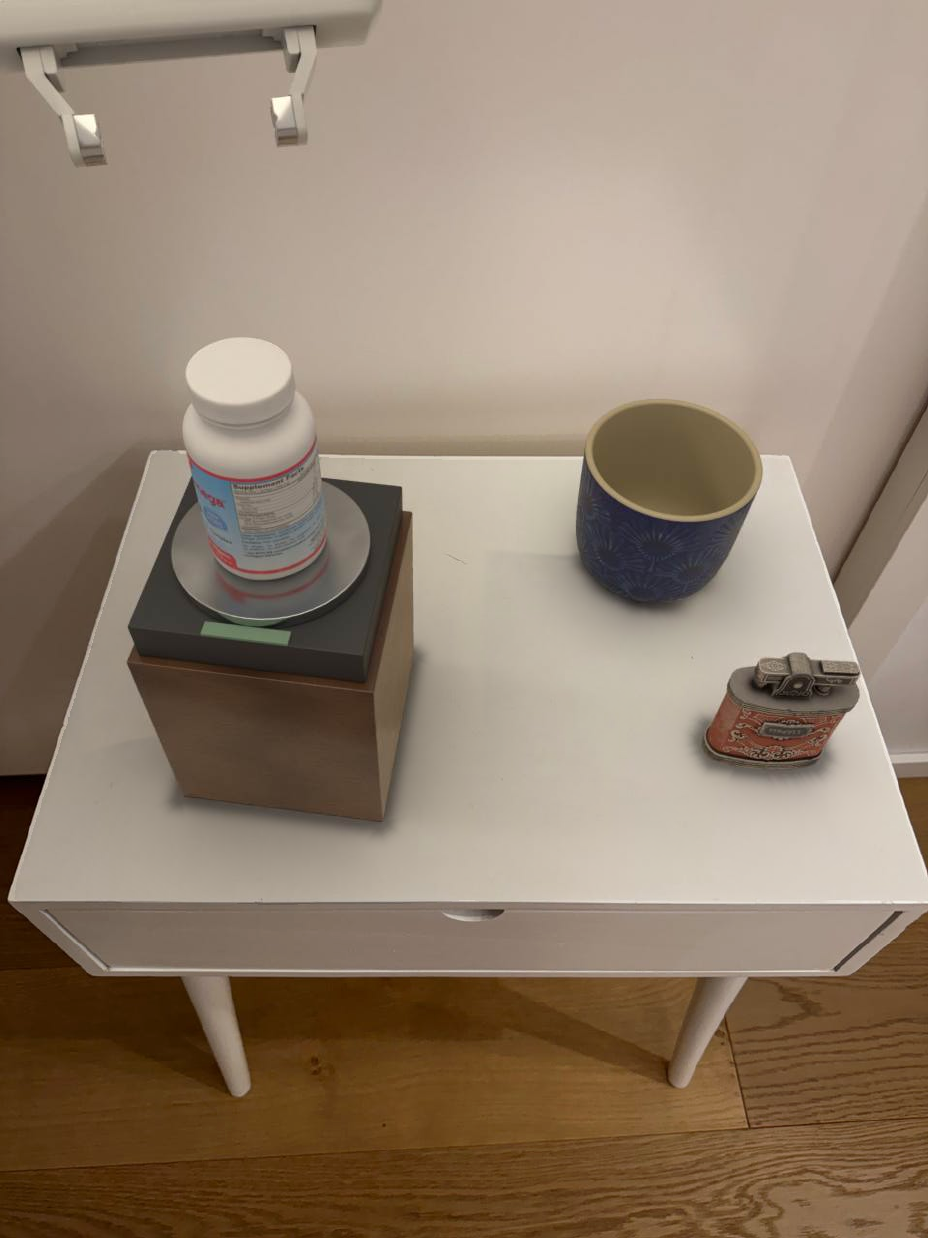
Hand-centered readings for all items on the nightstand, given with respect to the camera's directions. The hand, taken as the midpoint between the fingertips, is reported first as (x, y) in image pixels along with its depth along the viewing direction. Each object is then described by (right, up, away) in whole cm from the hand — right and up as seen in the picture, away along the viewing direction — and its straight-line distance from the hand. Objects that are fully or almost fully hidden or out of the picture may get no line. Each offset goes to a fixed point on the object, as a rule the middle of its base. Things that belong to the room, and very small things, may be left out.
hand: (193, 152), depth 45 cm
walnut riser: (+2, -29, +20) cm, 35 cm away
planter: (+27, -17, +30) cm, 44 cm away
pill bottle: (+3, -18, +5) cm, 19 cm away
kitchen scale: (+3, -20, +8) cm, 22 cm away
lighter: (+33, -31, +20) cm, 49 cm away
